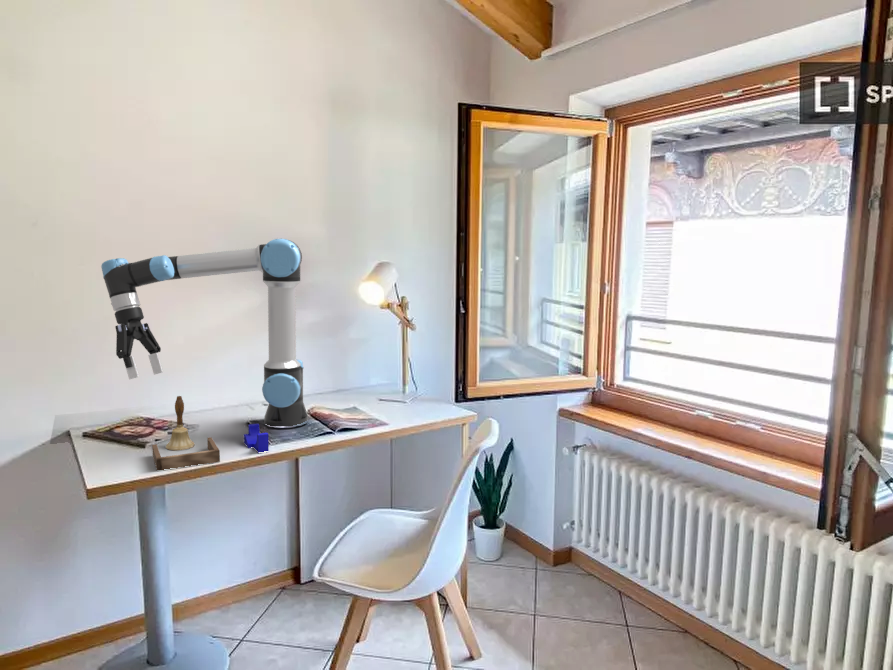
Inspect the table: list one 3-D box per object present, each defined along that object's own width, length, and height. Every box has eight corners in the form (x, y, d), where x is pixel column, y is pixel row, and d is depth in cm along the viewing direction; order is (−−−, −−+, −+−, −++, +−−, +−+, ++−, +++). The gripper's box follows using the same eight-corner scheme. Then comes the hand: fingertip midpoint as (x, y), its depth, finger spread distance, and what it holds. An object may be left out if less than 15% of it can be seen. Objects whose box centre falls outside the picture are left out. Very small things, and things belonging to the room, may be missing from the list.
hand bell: (198, 442, 187) (197, 393, 184) (188, 451, 178) (186, 400, 176) (172, 441, 186) (170, 392, 184) (160, 450, 178) (158, 399, 176)
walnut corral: (211, 448, 181) (211, 437, 181) (219, 461, 170) (219, 450, 170) (152, 456, 173) (152, 444, 172) (157, 471, 162) (156, 459, 161)
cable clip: (243, 443, 187) (243, 425, 186) (258, 441, 190) (257, 423, 189) (253, 455, 177) (253, 435, 176) (268, 452, 180) (268, 433, 179)
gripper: (138, 312, 193) (157, 374, 193) (89, 312, 168) (110, 383, 168) (160, 306, 192) (178, 368, 193) (114, 305, 168) (135, 376, 168)
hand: (146, 375), depth 181 cm, fingers open, 13 cm apart
